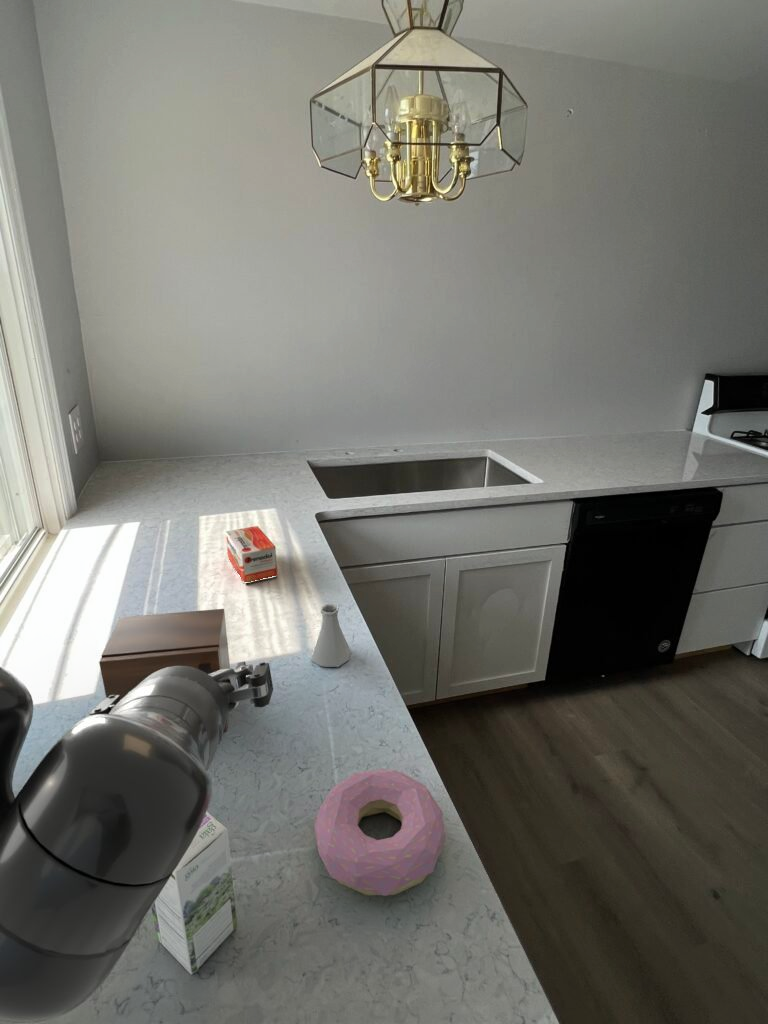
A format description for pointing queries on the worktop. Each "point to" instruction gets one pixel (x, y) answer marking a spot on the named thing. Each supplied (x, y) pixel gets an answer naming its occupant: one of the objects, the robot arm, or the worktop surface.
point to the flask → (330, 640)
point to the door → (153, 667)
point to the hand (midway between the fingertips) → (199, 681)
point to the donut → (383, 860)
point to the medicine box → (251, 553)
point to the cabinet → (170, 634)
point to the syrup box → (198, 899)
